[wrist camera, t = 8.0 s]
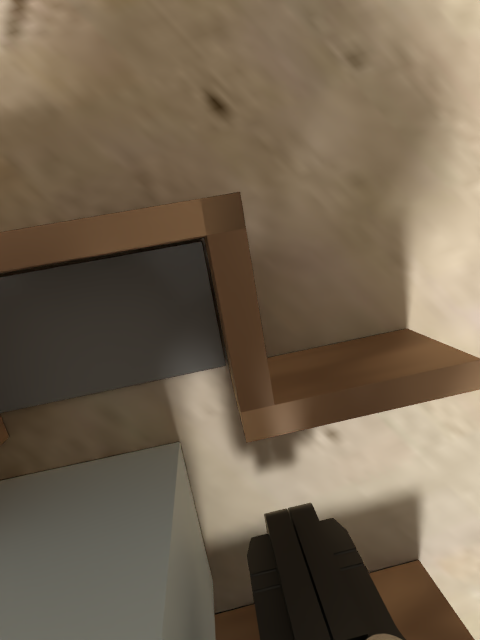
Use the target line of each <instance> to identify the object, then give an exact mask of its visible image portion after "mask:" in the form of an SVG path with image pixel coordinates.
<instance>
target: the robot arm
mask: <svg viewBox="0 0 480 640" xmlns="http://www.w3.org/2000/svg"><path fill="white" fill-rule="evenodd" d="M264 516H265V522H266V528H267V533H268V534H265V535H261V536H257V537H252V538H251V542H250V546H249V550H248V554H247V558H248V565H249V571H250V577H251V584H252V591H253V597H254V604H255V610H256V617H257V623H258V630H259V636H260V640H406V639H405V638H404V637H403V635H402V634H401V633H400V631H399V630H398V628H397V627H396V625H395V623H394V621H393V619H392V617H391V615H390V613H389V611H388V609H387V608H386V606H385V604H384V602H383V600H382V598H381V596H380V594H379V592H378V590H377V588H376V586H375V584H374V582H373V580H372V578H371V576H370V574H369V573H368V571H367V569H366V567H365V566H364V564H363V561H362V559H361V557H360V555H359V553H358V551H357V550H356V547H355V545H354V543H353V541H352V539H351V537H350V536H349V534H348V532H347V530H346V529H345V528H344V527H342V526H341V525H340V524H339V523H338V522H337V521H336V520H335V519H334V518H330V519H326V520H322V521H319V519H318V517H317V514H316V512H315V510H314V507H313V505H312V504H311V503H308V504H303V505H299V506H295V507H291V508H288V510H287V509H283V510H278V511H274V512H270V513H266V514H264Z"/></svg>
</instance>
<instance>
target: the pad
mask: <svg viewBox="0 0 480 640" xmlns="http://www.w3.org/2000/svg"><path fill="white" fill-rule="evenodd" d="M223 366H226V364H225V359H224V354H223V349H222V344H221V339H220V334H219V329H218V324H217V319H216V313H215V308H214V303H213V298H212V293H211V288H210V283H209V278H208V273H207V268H206V262H205V257H204V252H203V247H202V242H196V243H191V244H185V245H179V246H174V247H168V248H162V249H157V250H151V251H146V252H140V253H134V254H129V255H123V256H118V257H112V258H106V259H101V260H95V261H90V262H84V263H78V264H73V265H67V266H61V267H56V268H50V269H45V270H39V271H33V272H28V273H22V274H17V275H11V276H5V277H0V413H3V412H8V411H12V410H17V409H22V408H27V407H31V406H36V405H41V404H46V403H51V402H55V401H60V400H65V399H70V398H74V397H79V396H84V395H89V394H94V393H98V392H103V391H108V390H113V389H118V388H122V387H127V386H132V385H137V384H141V383H146V382H151V381H156V380H161V379H165V378H170V377H175V376H180V375H184V374H189V373H194V372H199V371H204V370H208V369H213V368H218V367H223Z"/></svg>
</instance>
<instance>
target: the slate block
mask: <svg viewBox="0 0 480 640" xmlns="http://www.w3.org/2000/svg"><path fill="white" fill-rule="evenodd" d="M0 640H216V639H215V616H214V594H213V580H212V576H211V572H210V567H209V563H208V559H207V555H206V550H205V546H204V542H203V538H202V534H201V529H200V525H199V521H198V517H197V513H196V508H195V504H194V500H193V496H192V492H191V487H190V483H189V479H188V475H187V470H186V466H185V462H184V458H183V454H182V449H181V445H180V442H176V443H172V444H167V445H162V446H158V447H153V448H149V449H144V450H139V451H135V452H130V453H126V454H121V455H116V456H112V457H107V458H103V459H98V460H93V461H89V462H84V463H80V464H75V465H70V466H66V467H61V468H56V469H52V470H47V471H43V472H38V473H33V474H29V475H24V476H20V477H15V478H10V479H6V480H1V481H0Z"/></svg>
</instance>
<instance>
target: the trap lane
mask: <svg viewBox="0 0 480 640" xmlns="http://www.w3.org/2000/svg"><path fill="white" fill-rule="evenodd" d="M198 238H204V240H205V245H206V250H207V255H208V260H209V265H210V271H211V276H212V281H213V286H214V291H215V296H216V302H217V307H218V312H219V317H220V322H221V327H222V333H223V338H224V343H225V348H226V353H227V358H228V364H229V369H230V374H231V379H232V384H233V389H234V393H235V397H236V402H237V406H238V410H239V414H240V418H241V422H242V426H243V430H244V434H245V438H246V443H248V442H252V441H257V440H261V439H265V438H270V437H274V436H278V435H283V434H287V433H291V432H296V431H300V430H305V429H309V428H313V427H318V426H322V425H326V424H331V423H335V422H340V421H344V420H348V419H353V418H357V417H361V416H366V415H370V414H374V413H379V412H383V411H388V410H392V409H396V408H401V407H405V406H409V405H414V404H418V403H423V402H427V401H431V400H436V399H440V398H444V397H449V396H453V395H457V394H462V393H466V392H471V391H475V390H479V389H480V358H477V357H475V356H473V355H470V354H468V353H465V352H463V351H460V350H458V349H455V348H453V347H451V346H448V345H446V344H443V343H441V342H438V341H436V340H434V339H431V338H429V337H426V336H424V335H421V334H419V333H417V332H414V331H412V330H409V329H403V330H398V331H393V332H388V333H383V334H379V335H374V336H369V337H364V338H360V339H355V340H350V341H345V342H340V343H336V344H331V345H326V346H321V347H317V348H312V349H307V350H302V351H297V352H293V353H288V354H283V355H278V356H274V357H269V358H267V355H266V349H265V343H264V337H263V330H262V324H261V318H260V312H259V306H258V300H257V294H256V287H255V281H254V275H253V269H252V263H251V257H250V250H249V244H248V238H247V232H246V226H245V220H244V213H243V207H242V201H241V195H240V192H237V193H231V194H225V195H219V196H213V197H207V198H201V199H195V200H189V201H183V202H177V203H171V204H165V205H159V206H153V207H147V208H142V209H136V210H130V211H124V212H118V213H112V214H106V215H100V216H94V217H88V218H82V219H76V220H70V221H64V222H58V223H52V224H46V225H40V226H34V227H28V228H22V229H16V230H10V231H4V232H0V274H1V273H6V272H12V271H18V270H23V269H29V268H35V267H40V266H46V265H51V264H57V263H63V262H68V261H74V260H80V259H85V258H91V257H97V256H102V255H108V254H114V253H119V252H125V251H130V250H136V249H142V248H147V247H153V246H159V245H164V244H170V243H176V242H181V241H187V240H192V239H198ZM8 437H9V436H8V433H7V431H6V428H5V426H4V423H3V420H2V418H1V415H0V446H1V445H2V444H3V443H4V442H5V441H6V440H7V439H8ZM369 574H370V576H371V578H372V580H373V582H374V584H375V586H376V588H377V590H378V592H379V594H380V596H381V598H382V600H383V602H384V604H385V606H386V608H387V609H388V611H389V613H390V615H391V617H392V619H393V621H394V623H395V625H396V627H397V628H398V630H399V631H400V633H401V634H402V635H403V637H404V638H405V639H406V640H474V638H473V637H472V636H471V634H470V633H469V631H468V630H467V628H466V627H465V626H464V624H463V623H462V621H461V620H460V618H459V617H458V615H457V614H456V613H455V611H454V610H453V608H452V607H451V605H450V604H449V603H448V601H447V600H446V598H445V597H444V595H443V594H442V592H441V591H440V590H439V588H438V587H437V585H436V584H435V582H434V581H433V580H432V578H431V577H430V575H429V574H428V572H427V571H426V570H425V568H424V567H423V565H422V564H421V562H420V561H419V560H417V561H413V562H409V563H406V564H402V565H398V566H394V567H391V568H387V569H383V570H380V571H376V572H372V573H369ZM214 616H215V639H216V640H260V636H259V630H258V623H257V617H256V610H255V604H253V605H249V606H246V607H242V608H238V609H234V610H231V611H227V612H223V613H219V614H216V615H214Z"/></svg>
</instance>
